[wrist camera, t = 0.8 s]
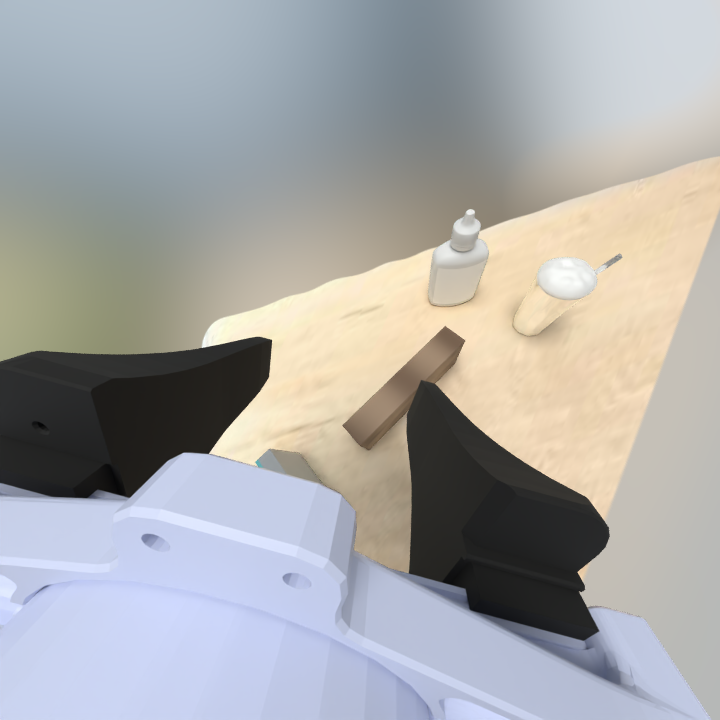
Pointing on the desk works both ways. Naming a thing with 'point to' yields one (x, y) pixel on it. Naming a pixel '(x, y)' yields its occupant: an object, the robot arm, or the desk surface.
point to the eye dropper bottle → (458, 264)
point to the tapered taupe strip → (404, 388)
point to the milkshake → (556, 292)
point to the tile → (287, 464)
